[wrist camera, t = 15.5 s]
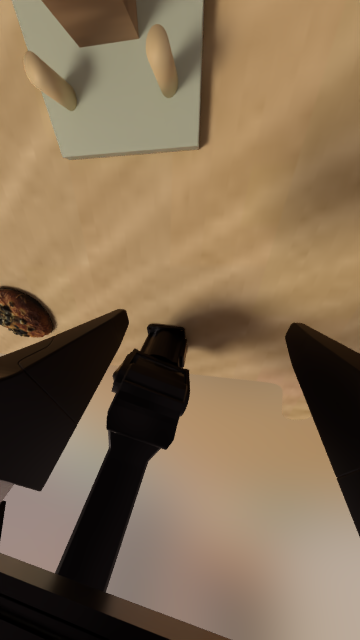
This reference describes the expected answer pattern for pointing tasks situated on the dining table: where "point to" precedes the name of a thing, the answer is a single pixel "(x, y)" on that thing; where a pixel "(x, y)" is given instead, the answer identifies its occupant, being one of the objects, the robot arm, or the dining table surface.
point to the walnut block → (96, 20)
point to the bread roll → (23, 314)
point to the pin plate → (120, 81)
